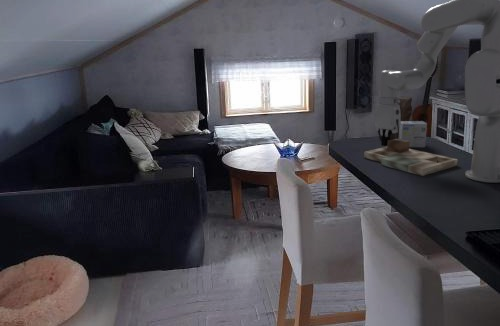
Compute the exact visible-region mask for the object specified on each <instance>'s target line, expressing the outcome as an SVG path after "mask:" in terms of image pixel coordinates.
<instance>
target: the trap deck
mask: <svg viewBox="0 0 500 326" xmlns="http://www.w3.org/2000/svg"><path fill="white" fill-rule="evenodd" d="M363 152H364V153H363V154H364V155H363V158H364V159H368V160H372V161H375V162H379V163H380V164H381V166H384V167H387V168H392V169H395V170H398V171H402V172H406V173H410V174H414V175H418V176H422V177H425V176H427V175H430V174H434V173H437V172H440V171H444V170H447V169H450V168H454V167H457V166H458V161H459V160H458V158H453V157H449V156H446V155H445V156H444V155H441V154H435V153H431V152H426V151H421V150H417V149H412V148H409V151H406V152H402V153H397V152H393V151H388V150H387V146H383V147H379V148H375V149H371V150H367V151H363Z"/></svg>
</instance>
